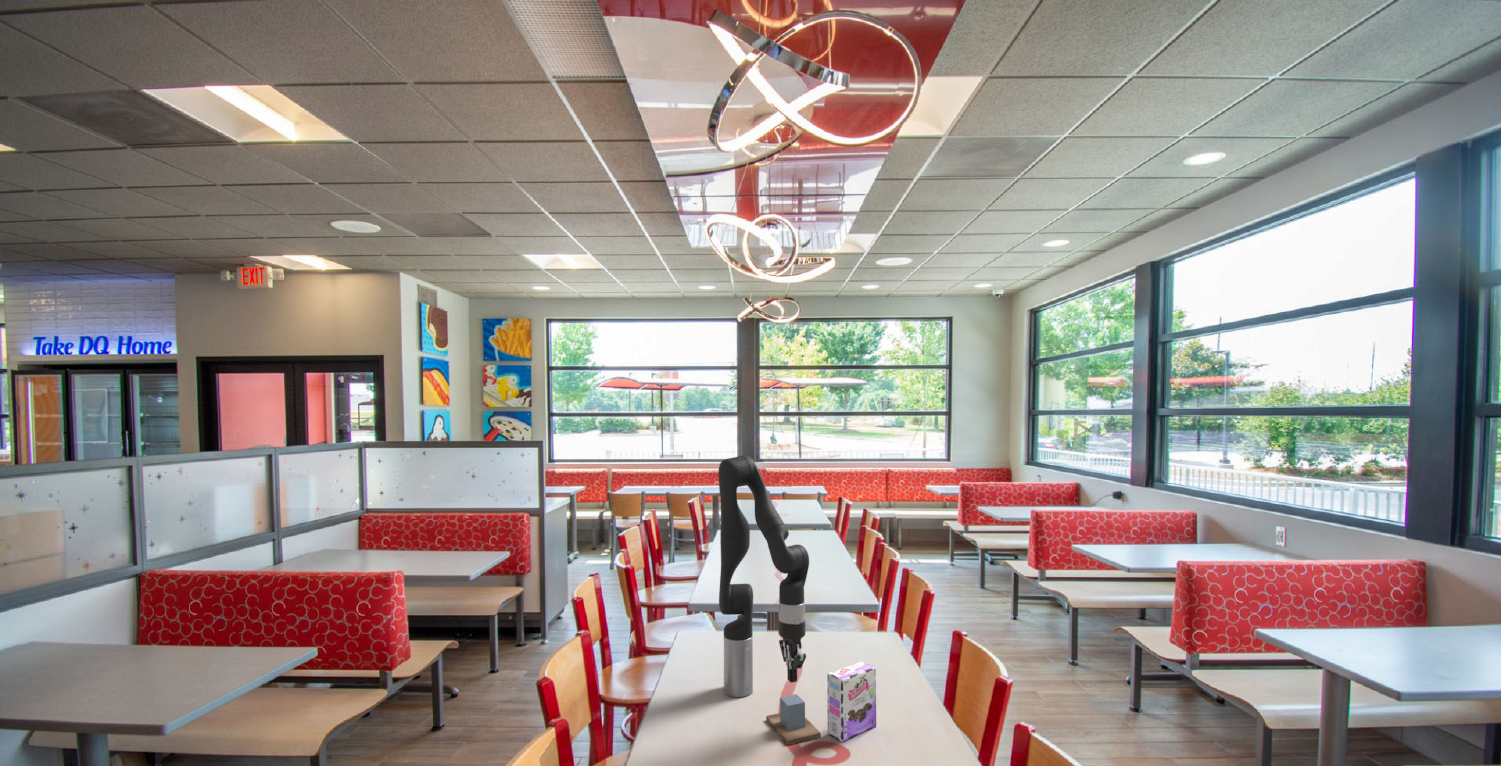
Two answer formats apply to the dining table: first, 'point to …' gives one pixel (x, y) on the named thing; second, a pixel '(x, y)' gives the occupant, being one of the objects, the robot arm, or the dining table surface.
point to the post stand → (795, 734)
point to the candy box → (851, 701)
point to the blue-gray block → (792, 712)
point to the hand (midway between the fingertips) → (792, 680)
